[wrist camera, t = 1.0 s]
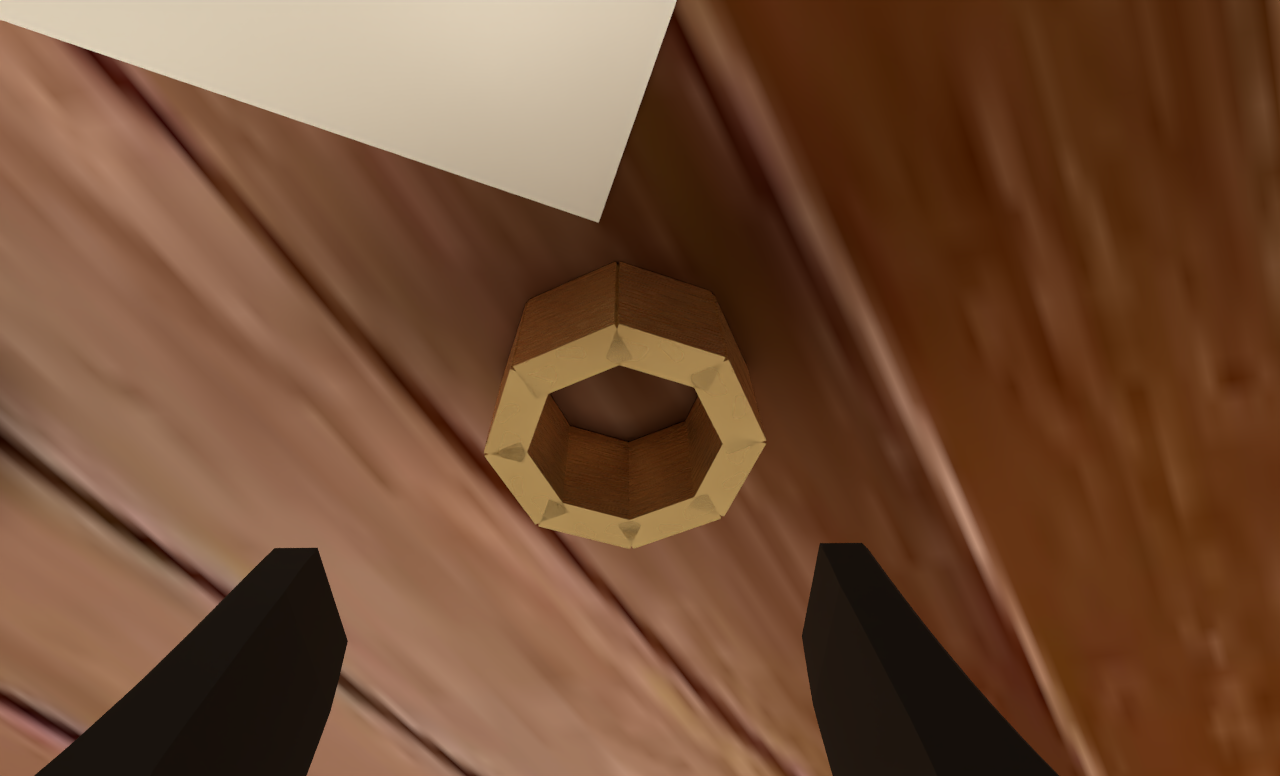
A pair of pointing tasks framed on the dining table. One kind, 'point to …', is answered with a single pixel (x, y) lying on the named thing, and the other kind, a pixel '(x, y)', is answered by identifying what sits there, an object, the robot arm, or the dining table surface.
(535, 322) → the ring
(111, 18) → the stub board
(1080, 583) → the dining table surface
